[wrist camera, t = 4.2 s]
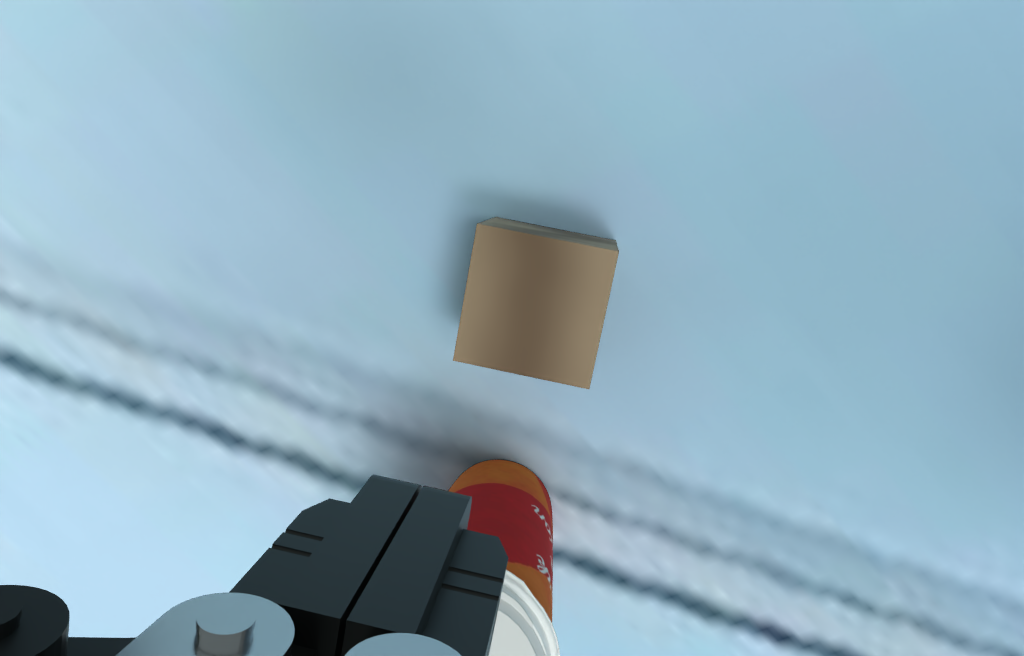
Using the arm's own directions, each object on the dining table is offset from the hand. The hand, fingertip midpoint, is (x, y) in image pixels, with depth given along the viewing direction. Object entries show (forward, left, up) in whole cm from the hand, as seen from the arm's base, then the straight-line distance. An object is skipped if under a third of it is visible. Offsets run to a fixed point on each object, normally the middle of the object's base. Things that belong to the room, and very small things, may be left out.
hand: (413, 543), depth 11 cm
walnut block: (0, 0, -27) cm, 27 cm away
